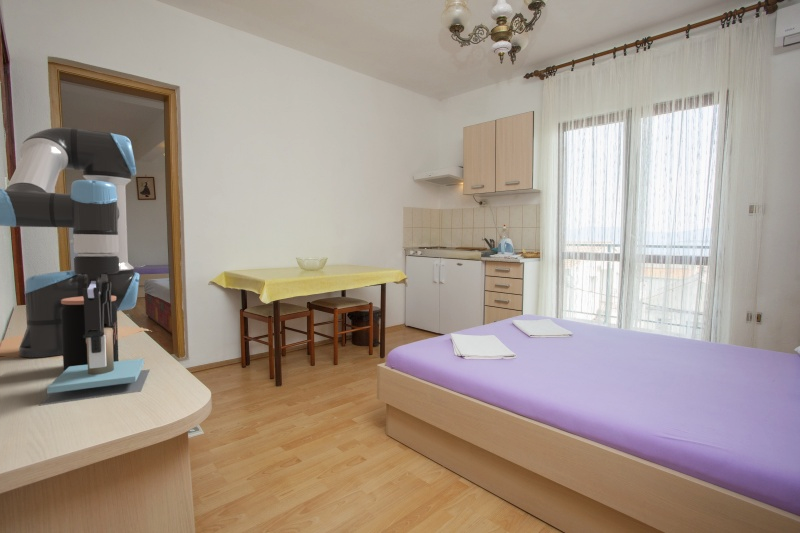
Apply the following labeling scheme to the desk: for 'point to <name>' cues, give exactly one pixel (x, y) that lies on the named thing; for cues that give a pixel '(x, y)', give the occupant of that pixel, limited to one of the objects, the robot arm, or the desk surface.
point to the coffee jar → (80, 332)
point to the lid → (98, 371)
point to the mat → (97, 391)
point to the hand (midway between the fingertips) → (100, 363)
